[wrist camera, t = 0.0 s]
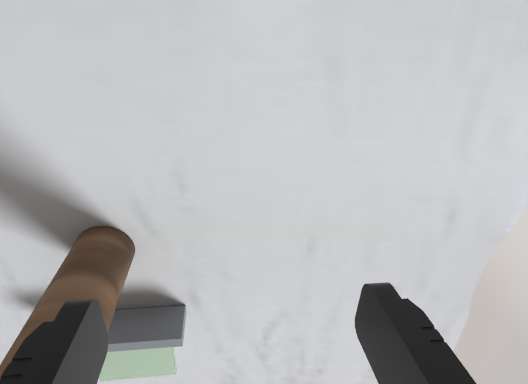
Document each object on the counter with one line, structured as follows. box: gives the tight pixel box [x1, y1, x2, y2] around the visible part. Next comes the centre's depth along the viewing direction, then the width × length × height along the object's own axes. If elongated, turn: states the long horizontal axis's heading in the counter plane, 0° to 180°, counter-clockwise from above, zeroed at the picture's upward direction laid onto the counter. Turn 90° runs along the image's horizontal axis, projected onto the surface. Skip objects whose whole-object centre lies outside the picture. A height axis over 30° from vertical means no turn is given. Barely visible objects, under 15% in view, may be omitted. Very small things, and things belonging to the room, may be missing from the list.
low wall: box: [107, 305, 186, 352], centre depth 32 cm, size 1×13×4 cm, turn 87°
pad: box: [99, 347, 177, 381], centre depth 37 cm, size 9×9×1 cm
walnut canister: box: [0, 226, 135, 379], centre depth 24 cm, size 5×5×12 cm
